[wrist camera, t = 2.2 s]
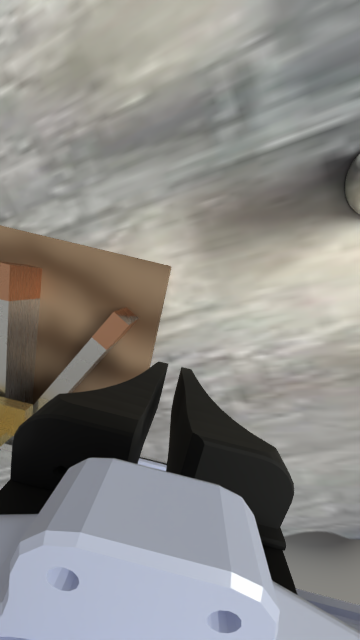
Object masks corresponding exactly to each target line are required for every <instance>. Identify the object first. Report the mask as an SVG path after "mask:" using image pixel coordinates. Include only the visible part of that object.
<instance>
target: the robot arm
mask: <svg viewBox="0 0 360 640" xmlns="http://www.w3.org/2000/svg"><path fill="white" fill-rule="evenodd" d="M167 367H168V364H167V363H163V362H157V363H156V364H154V365H153V366H152V367H150V368H149V369H147V370H146V371H144V372H143V373H141V374H139V375H138V376H136V377H134V378H132V379H130V380H127V381H125V382H122V383H120V384H116V385H113V386H109V387H106V388H101V389H97V390H91V391H84V392H74V393H62V394H58V395H57V396H55V397H54V398H53V399H51V400H50V401H49V402H47V403H46V404H45V405H44V406H43V407H41V408H40V409H39V410H38V411H37V412H35V413H34V414H33V415H32V416H31V417H29V418H28V419H27V420H26V421H25V422H24V423H22V424H21V425H20V426H19V428H18V429H17V431H16V432H15V434H14V438H13V443H12V459H11V479H10V480H9V481H8V482H7V484H6V485H5V486H4V487H3V488H2V489H1V490H0V640H360V605H358V604H354V603H350V602H346V601H342V600H339V599H335V598H331V597H327V596H323V595H320V594H316V593H312V592H308V591H304V590H300V589H297V588H295V585H294V582H293V579H292V577H291V574H290V571H289V568H288V565H287V562H286V559H285V556H284V553H283V550H285V548H286V543H285V539H284V537H283V534H282V531H281V528H280V526H281V524H282V522H283V520H284V518H285V515H286V513H287V511H288V509H289V507H290V505H291V503H292V499H293V496H294V483H293V481H292V479H291V476H290V474H289V472H288V470H287V468H286V466H285V464H284V462H283V460H282V458H281V457H280V455H279V453H278V451H277V449H276V448H275V447H273V446H272V445H270V444H268V443H267V442H265V441H263V440H262V439H260V438H258V437H257V436H255V435H254V434H252V433H251V432H249V431H248V430H246V429H245V428H243V427H242V426H241V425H239V424H238V423H237V422H235V421H234V420H233V419H232V418H231V417H229V416H228V415H227V414H226V413H225V412H224V411H223V410H221V409H220V408H219V407H218V406H217V404H216V403H215V402H214V401H213V400H212V399H211V398H210V397H209V396H208V394H207V393H206V392H205V390H204V389H203V388H202V386H201V385H200V383H199V382H198V380H197V378H196V377H195V375H194V373H193V372H192V370H191V369H187V368H183V367H181V371H180V375H179V379H178V383H177V387H176V391H175V395H174V399H173V405H172V410H171V424H170V440H169V453H168V461H167V465H164V464H160V463H156V462H152V461H149V460H145V459H141V458H139V457H140V454H141V450H142V447H143V444H144V441H145V439H146V436H147V434H148V431H149V429H150V426H151V423H152V421H153V418H154V416H155V413H156V410H157V408H158V404H159V400H160V396H161V393H162V388H163V384H164V380H165V376H166V372H167Z"/></svg>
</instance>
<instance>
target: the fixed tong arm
mask: <svg viewBox="0 0 360 640" xmlns="http://www.w3.org/2000/svg"><path fill="white" fill-rule="evenodd" d="M41 279H42V268H39V267H35V266H31V265H26V264H18V263H10V262H1V261H0V396H1V397H5V398H9V399H13V400H17V401H21V402H25V403H29V404H32V400H33V386H34V372H35V359H36V345H37V331H38V318H39V304H40V293H41ZM12 443H13V441H12V440H11V439H9V440H8V441H6V442H5V443H4V444H3V445H2V446H1V447H0V449H2V450H6V451H9V452H12Z"/></svg>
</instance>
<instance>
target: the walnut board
mask: <svg viewBox="0 0 360 640" xmlns="http://www.w3.org/2000/svg"><path fill="white" fill-rule="evenodd" d="M0 261H1V262H10V263H18V264H26V265H31V266H35V267H39V268H42V279H41V293H40V304H39V318H38V331H37V345H36V359H35V372H34V386H33V400H32V404H33V405H34V404H35V403H36V402H37V400H38V399H39V398H40V397H41V396H42V395H43V393H44V392H45V391H46V390H47V389H48V388H49V387H50V385H51V384H52V383H53V382H54V381H55V380H56V378H57V377H58V376H59V375H60V374H61V373H62V371H63V370H64V369H65V368H66V367H67V366H68V364H69V363H70V362H71V361H72V360H73V359H74V358H75V356H76V355H77V354H78V353H79V352H80V351H81V349H82V348H83V347H84V346H85V345H86V344H87V342H88V341H89V340H90V339H91V338H92V336H93V335H94V334H95V333H96V332H97V330H98V329H99V328H100V327H101V326H102V325H103V323H104V322H105V321H106V320H107V319H108V318H109V317H110V315H111V314H112V313H113V312H114V311H117V310H120V309H123V308H126V307H127V308H128V309H129V310H130V311H131V312H133V313H134V314H135V315H136V316H137V317H138V318H139V319H138V320H137V321H136V323H135V324H134V325H133V326H132V327H131V328H130V329H129V330H128V331H127V332H126V334H125V335H124V336H123V337H122V338H121V339H120V340H119V341H118V342H117V343H116V344H115V345H114V347H113V348H112V349H111V350H110V351H109V352H108V353H107V354H106V355H105V356H104V358H103V359H102V360H101V361H100V362H99V363H98V364H97V365H96V366H95V367H94V369H93V370H92V371H91V372H90V373H89V374H88V375H87V376H86V377H85V378H84V380H83V381H82V382H81V383H80V384H79V385H78V386H77V387H76V388H75V390H74V391H73V392H72V393H74V392H84V391H91V390H97V389H101V388H106V387H109V386H113V385H116V384H120V383H122V382H125V381H127V380H130V379H132V378H134V377H136V376H138V375H139V374H141V373H143V372H144V371H146V370H147V369H149V368H150V364H151V359H152V354H153V350H154V345H155V341H156V336H157V331H158V327H159V322H160V317H161V313H162V308H163V304H164V299H165V294H166V290H167V285H168V280H169V276H170V271H171V266H168V265H163V264H159V263H155V262H151V261H147V260H142V259H138V258H134V257H130V256H126V255H121V254H117V253H113V252H109V251H105V250H100V249H96V248H92V247H88V246H84V245H80V244H75V243H71V242H67V241H63V240H59V239H54V238H50V237H46V236H42V235H38V234H33V233H29V232H25V231H21V230H17V229H13V228H8V227H4V226H0Z"/></svg>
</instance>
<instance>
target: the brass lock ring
mask: <svg viewBox="0 0 360 640" xmlns="http://www.w3.org/2000/svg"><path fill="white" fill-rule="evenodd" d="M32 413H33V404H29V403H25V402H21V401H17V400H13V399H9V398H5V397H1V396H0V447H1V446H2V445H3V444H4V443H5V442H6V441H8V440H9V439H10V438H11V437H12V436H14V434H15V432H16V431H17V429H18V428H19V426H20V425H21V424H22V423H24V422H25V421H26V420H27V419H28V418H29V417H31V416H32Z"/></svg>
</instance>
